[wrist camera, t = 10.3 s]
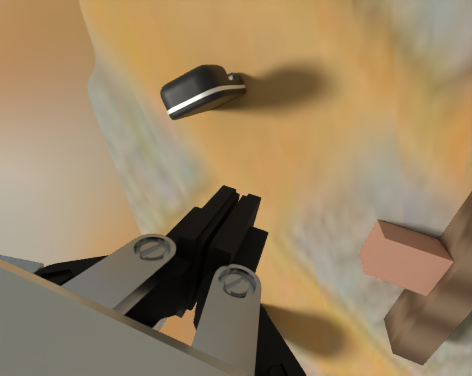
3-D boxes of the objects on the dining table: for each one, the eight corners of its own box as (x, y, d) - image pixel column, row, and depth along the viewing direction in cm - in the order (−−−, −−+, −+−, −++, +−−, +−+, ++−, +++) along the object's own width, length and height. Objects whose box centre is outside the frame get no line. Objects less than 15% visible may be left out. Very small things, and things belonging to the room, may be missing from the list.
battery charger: (238, 63, 34) (204, 57, 24) (249, 92, 35) (220, 97, 25) (195, 86, 37) (148, 88, 27) (206, 111, 38) (164, 123, 28)
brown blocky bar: (493, 159, 30) (530, 177, 25) (533, 170, 29) (579, 190, 24) (383, 319, 42) (392, 353, 37) (409, 328, 42) (422, 365, 36)
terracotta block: (377, 218, 37) (384, 238, 32) (437, 238, 35) (454, 261, 31) (359, 251, 39) (363, 273, 35) (414, 271, 38) (426, 296, 34)
